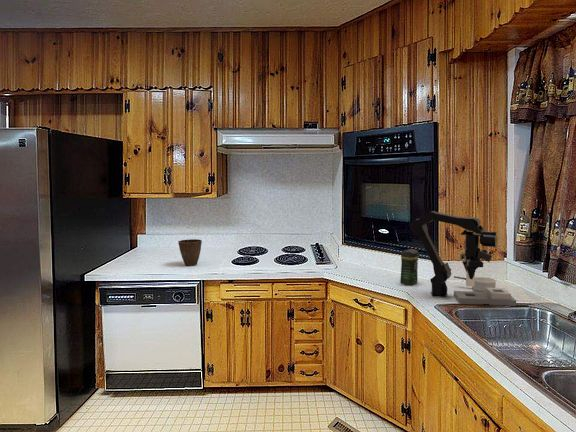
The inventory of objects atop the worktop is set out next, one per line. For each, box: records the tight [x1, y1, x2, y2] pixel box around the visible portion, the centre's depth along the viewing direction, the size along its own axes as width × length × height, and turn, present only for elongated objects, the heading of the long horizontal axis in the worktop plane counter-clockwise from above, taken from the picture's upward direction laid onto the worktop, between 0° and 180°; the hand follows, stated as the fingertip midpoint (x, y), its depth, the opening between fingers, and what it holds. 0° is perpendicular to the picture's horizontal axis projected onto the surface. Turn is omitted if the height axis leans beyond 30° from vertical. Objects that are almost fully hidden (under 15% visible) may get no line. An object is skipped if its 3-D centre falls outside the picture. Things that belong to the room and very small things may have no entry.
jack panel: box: [453, 287, 517, 307], centre depth 195 cm, size 24×12×5 cm, turn 79°
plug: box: [465, 271, 476, 287], centre depth 196 cm, size 3×3×8 cm
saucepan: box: [453, 275, 497, 292], centre depth 215 cm, size 12×20×6 cm, turn 58°
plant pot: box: [177, 238, 203, 267], centre depth 276 cm, size 15×15×16 cm
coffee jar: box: [399, 248, 419, 286], centre depth 226 cm, size 10×8×19 cm
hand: (470, 278), depth 196 cm, fingers closed on plug, 3 cm apart
